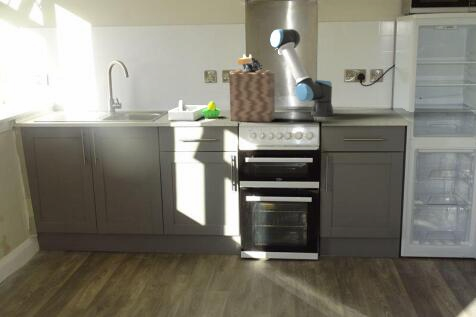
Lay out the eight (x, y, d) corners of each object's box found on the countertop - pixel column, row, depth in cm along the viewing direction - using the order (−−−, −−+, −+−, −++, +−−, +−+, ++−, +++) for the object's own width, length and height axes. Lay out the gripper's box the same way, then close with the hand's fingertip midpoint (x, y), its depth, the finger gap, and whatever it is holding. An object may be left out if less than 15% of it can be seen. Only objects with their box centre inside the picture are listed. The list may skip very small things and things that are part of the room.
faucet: (188, 114, 336) (186, 93, 349) (173, 119, 337) (171, 98, 350) (196, 127, 347) (193, 107, 359) (181, 132, 348) (179, 111, 361)
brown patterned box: (274, 118, 334) (274, 69, 327) (270, 121, 321) (269, 71, 313) (236, 117, 341) (235, 69, 334) (230, 120, 328) (229, 71, 320)
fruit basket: (218, 116, 349) (217, 99, 347) (221, 118, 341) (220, 101, 338) (201, 117, 346) (201, 100, 344) (204, 119, 338) (204, 102, 335)
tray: (207, 114, 358) (207, 105, 357) (193, 120, 331) (193, 111, 330) (184, 113, 363) (184, 105, 361) (168, 120, 336) (168, 111, 335)
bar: (252, 62, 347) (252, 57, 347) (243, 64, 325) (243, 58, 324) (247, 62, 348) (247, 57, 348) (237, 64, 326) (237, 58, 325)
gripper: (265, 76, 357) (258, 61, 336) (243, 76, 362) (234, 61, 340) (266, 67, 359) (259, 51, 338) (244, 67, 364) (235, 51, 342)
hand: (247, 56), depth 339 cm, fingers closed on bar, 3 cm apart
